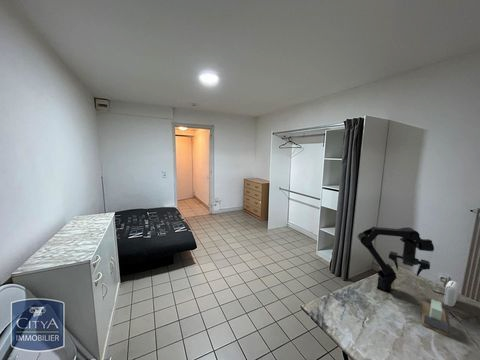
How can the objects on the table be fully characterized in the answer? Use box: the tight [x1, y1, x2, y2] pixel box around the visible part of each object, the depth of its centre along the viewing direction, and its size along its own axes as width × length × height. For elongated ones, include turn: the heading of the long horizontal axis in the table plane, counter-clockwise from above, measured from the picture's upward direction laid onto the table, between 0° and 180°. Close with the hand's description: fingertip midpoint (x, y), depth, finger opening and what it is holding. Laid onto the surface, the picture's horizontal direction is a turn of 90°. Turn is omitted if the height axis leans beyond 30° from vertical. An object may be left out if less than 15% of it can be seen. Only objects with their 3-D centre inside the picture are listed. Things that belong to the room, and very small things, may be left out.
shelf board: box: [421, 300, 449, 337], centre depth 101 cm, size 9×20×1 cm, turn 137°
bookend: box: [424, 315, 449, 333], centre depth 94 cm, size 8×1×4 cm, turn 47°
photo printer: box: [443, 280, 460, 307], centre depth 111 cm, size 10×4×12 cm, turn 123°
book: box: [429, 298, 443, 321], centre depth 97 cm, size 4×8×9 cm, turn 137°
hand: (407, 272), depth 119 cm, fingers open, 9 cm apart
